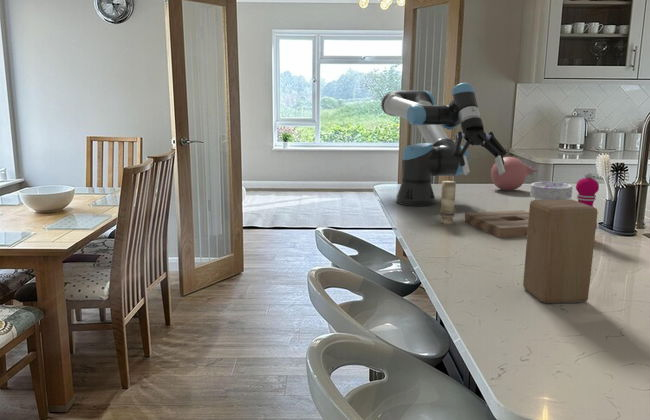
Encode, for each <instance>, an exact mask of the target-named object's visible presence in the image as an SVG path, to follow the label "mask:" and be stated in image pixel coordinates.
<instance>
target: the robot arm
mask: <svg viewBox="0 0 650 420" xmlns="http://www.w3.org/2000/svg"><path fill="white" fill-rule="evenodd" d="M451 92H452V97H453V98H452V100H451V102H449V104H443V105H442V104H436V101H435V97H434V95H433V93H431V91H428V90H424V89H419V90H417V89H416V90H414V89H410V90H408V89H407V90H406V89H405V90H404V89H403V90H401V89H398V90H392V91H389V92H388V93H386V94H385V95H384V96H383V97H382V100H381V102H380V104H381V105H380V106H381V110H382V111H383V112H384V114H386V115H387V116H389V117H398V118H399V117H400V118H402V119H405V120H407V122H408V124H409V125H412V126H414V125H415V126H417V129H418V130H419V132H420V134H421V135H422V137H423V139H424V141H425V142H424V143H422V142H421V143H413V144H409V145H406V146H404V148H403V149H402V156H401V183H400V186H399V189H398V192H397V195H396V203H397V204H399V205H403V206H410V207H424V206H425V207H426V206H433V205H435V204H436V197H435V193H434V190H433V186H432V177H447V176H448V177H456V176H462V175H463V176H468V175H469V174H470V172H471V170H470V166H469V162H470V161H469V159H470V158H469V157H470V156H469V151H468V149H469V147H470V145H471V146H481V147H483V148H484V149H486V150H487V151H488V152H489V153H491V154H492V156H494V157H495V158H494V162H495V163H496V165H497V168H498V172H499V175H502V174H503V173H504V172H505V169H504V166H503V165H504V160H503V158H504V157H505V155H506V154H507V153H508V152H507V151H506V149H505V148H504V147H503V146H502V145H501V143H500V141H499V140H498V139H497V138H496V137H495V135H494V132H493V131H489V133H486V132H485V130H484V124H483V119H482V117H481V113H480V109H479V105H478V103H477V98H476V94H475V91H474V88H473V86H472V84H470V83H468V82H461V83H459V84H456V85H454V87H453V88H452V90H451ZM459 125H460V127H461V130H462V131H458V132H457V134H455V140H454V139H453V138H449V137H448V136H447V133H446V132H445V131H444V129H446V130H449V131H451V130H455V129H456V128H457V127H458V126H459ZM463 139H464V140H466V142H465V143H464V145H461V144H462V141H463Z"/></svg>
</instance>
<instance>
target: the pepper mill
mask: <svg viewBox="0 0 650 420" xmlns="http://www.w3.org/2000/svg"><path fill="white" fill-rule="evenodd" d="M592 177H593V174H592V173H590V172H587V173H586V174H585V175H584V177H583V178H581V179H578V181H577V182H576V185H575V190H576V191H577V194H576V199H577V202H580V203H583V204H586V205H589V206H592V207H594V202H595V201H596V197H597V195H596V194H597V193H598V192H599V190H600V189H599V188H600V187H599V186H600V185H599V182H598V180H596V179H595V178H592ZM597 223H598V222H596V229H597V227H598V226H597V225H598V224H597Z"/></svg>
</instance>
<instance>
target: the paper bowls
mask: <svg viewBox="0 0 650 420" xmlns="http://www.w3.org/2000/svg"><path fill="white" fill-rule="evenodd" d="M530 185H531V186H530V193H529V194H530V195H529V196H530V197H532V198H534V200H559V199H572V195H573V185H572V184H569V183H564V182H557V181H555V182H554V181H538V182H537V181H536V182H531V184H530Z"/></svg>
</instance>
